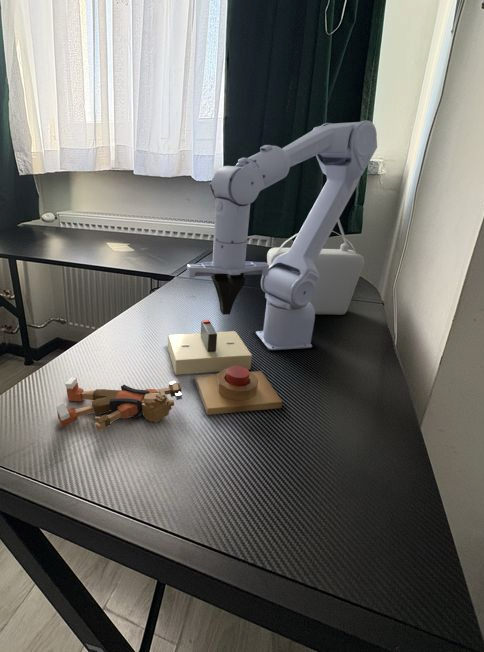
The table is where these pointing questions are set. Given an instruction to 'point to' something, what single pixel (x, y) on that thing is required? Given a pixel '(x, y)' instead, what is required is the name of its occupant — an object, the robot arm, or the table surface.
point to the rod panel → (207, 353)
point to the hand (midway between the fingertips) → (225, 312)
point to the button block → (236, 394)
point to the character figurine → (118, 403)
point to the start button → (237, 376)
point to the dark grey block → (208, 335)
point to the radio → (331, 276)
